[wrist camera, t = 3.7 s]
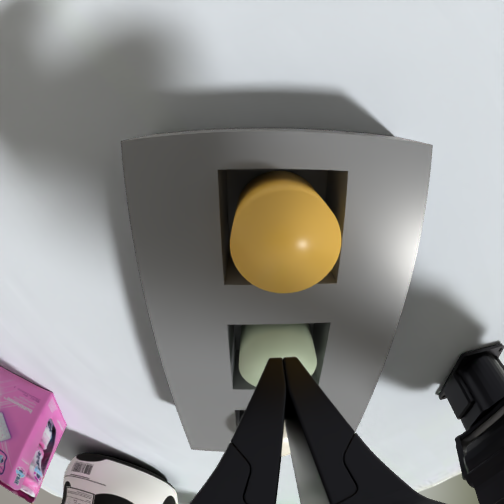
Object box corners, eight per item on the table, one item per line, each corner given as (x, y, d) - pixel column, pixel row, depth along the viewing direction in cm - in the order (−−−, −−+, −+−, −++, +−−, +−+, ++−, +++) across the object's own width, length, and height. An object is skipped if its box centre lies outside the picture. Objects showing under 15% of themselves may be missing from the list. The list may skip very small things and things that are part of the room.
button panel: (395, 136, 14) (432, 145, 11) (340, 410, 24) (348, 445, 21) (151, 134, 15) (120, 141, 11) (197, 413, 24) (191, 449, 21)
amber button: (322, 171, 14) (346, 191, 10) (317, 250, 16) (334, 291, 12) (234, 171, 14) (227, 190, 10) (237, 251, 16) (232, 293, 12)
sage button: (309, 293, 18) (321, 336, 14) (304, 344, 20) (312, 388, 16) (240, 294, 18) (236, 338, 14) (242, 345, 20) (240, 390, 16)
